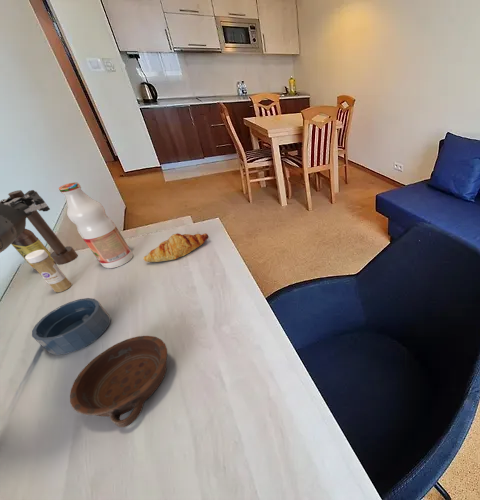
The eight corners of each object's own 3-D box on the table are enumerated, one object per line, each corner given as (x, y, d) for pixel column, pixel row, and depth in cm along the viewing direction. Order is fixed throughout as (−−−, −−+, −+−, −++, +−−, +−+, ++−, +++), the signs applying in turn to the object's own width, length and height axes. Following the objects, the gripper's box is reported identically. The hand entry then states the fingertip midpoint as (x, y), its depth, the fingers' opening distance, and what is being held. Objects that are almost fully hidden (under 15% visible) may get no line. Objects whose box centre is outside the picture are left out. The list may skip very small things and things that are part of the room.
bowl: (39, 364, 71) (21, 349, 68) (59, 325, 81) (44, 309, 78) (105, 342, 75) (91, 326, 71) (116, 307, 85) (104, 291, 82)
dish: (167, 330, 76) (158, 317, 73) (185, 397, 61) (175, 384, 58) (85, 370, 69) (71, 356, 66) (82, 458, 53) (64, 445, 50)
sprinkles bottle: (53, 294, 93) (22, 260, 85) (56, 286, 96) (26, 252, 88) (71, 288, 94) (42, 254, 86) (73, 281, 98) (45, 247, 90)
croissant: (152, 276, 102) (142, 265, 95) (142, 253, 105) (132, 241, 98) (215, 250, 110) (210, 238, 104) (204, 230, 114) (199, 217, 107)
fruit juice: (123, 267, 101) (72, 190, 85) (96, 270, 101) (39, 193, 85) (139, 251, 109) (94, 177, 93) (113, 253, 109) (64, 180, 93)
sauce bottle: (35, 267, 106) (-9, 218, 95) (57, 259, 110) (17, 210, 98) (36, 275, 102) (-10, 224, 91) (58, 266, 106) (17, 216, 94)
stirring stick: (53, 266, 73) (-4, 198, 62) (60, 257, 76) (7, 191, 66) (75, 261, 74) (22, 193, 63) (80, 252, 77) (31, 186, 67)
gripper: (18, 201, 54) (52, 172, 68) (-83, 222, 51) (-25, 187, 64) (46, 236, 59) (73, 203, 72) (-45, 258, 55) (1, 218, 68)
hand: (27, 195), depth 68 cm, fingers closed on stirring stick, 2 cm apart
